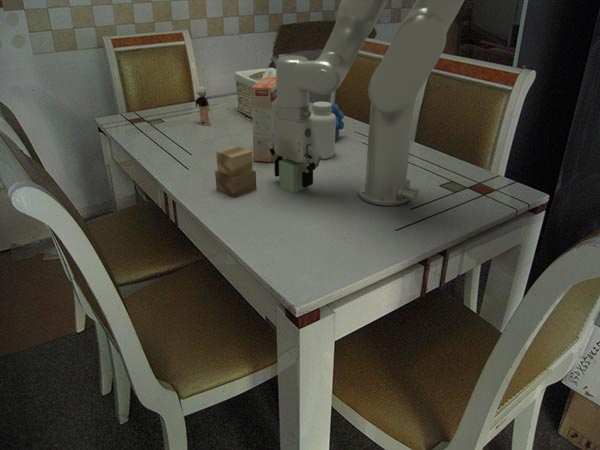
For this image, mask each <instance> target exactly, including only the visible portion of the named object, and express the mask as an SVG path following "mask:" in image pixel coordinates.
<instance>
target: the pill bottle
mask: <svg viewBox="0 0 600 450" xmlns="http://www.w3.org/2000/svg"><path fill="white" fill-rule="evenodd" d="M332 104H333V103H331V102H329V101H316V102H313V103H312V112H311V116H310V117H309V119H312V123H313V129H314V138H315V150H316V151H317V152H318V153H319V154H320V155H321V160H326V159H327V160H328V159H331V158H333V157H334V156H335V150H336V137H335V131H336V117H335V115H334V114H333V113H331V111H332V110H331V109H332Z"/></svg>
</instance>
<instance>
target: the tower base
mask: <svg viewBox="0 0 600 450" xmlns="http://www.w3.org/2000/svg"><path fill="white" fill-rule="evenodd" d="M214 175H215V176H214V177H215V187H216V190H217V191H219V192H220V193H223V194H225V195H227V196H229V197H231V198H233V199H236V198H237V197H240V196H243V195H246V194H249V193H251V192H254V191H256V190H257V189H258V188H257V172H256V170H254V169H253V171H252V172H249V173H246V174H243V175H240V176H237V177H234V178H232V177H230V176H228V175H225V174H223V173H221V172H219V171H218V169H217V170H214Z"/></svg>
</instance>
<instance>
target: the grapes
mask: <svg viewBox="0 0 600 450" xmlns="http://www.w3.org/2000/svg"><path fill="white" fill-rule="evenodd" d="M331 104H332V109H331V110H332V111H331V113H333V114H334V115H335V117H336V131H335V138H338V137H339V136H340V130H344V127H345V123H344V121H343V119H344V118H345V114H344V111H342V110H340V109H339V108H340V107H339V105H338V104H336V103H331Z"/></svg>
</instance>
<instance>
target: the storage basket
mask: <svg viewBox="0 0 600 450" xmlns="http://www.w3.org/2000/svg"><path fill="white" fill-rule="evenodd" d="M264 77H276V68H274V67H268V68H258V69H257V68H255V69H248V70H240V71H235V73H234V80H235V85H236V86H235V87H236V96H237V100H236V101H237V106H238V111H239V112H240V113H242V114H243V115H245V116H247V117H248V118H251V119H252V120H253V117H252V86H254V85H255V84H256V83H258V82H259V81H260V80H262V79H263V78H264ZM255 79H259V80H255Z"/></svg>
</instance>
